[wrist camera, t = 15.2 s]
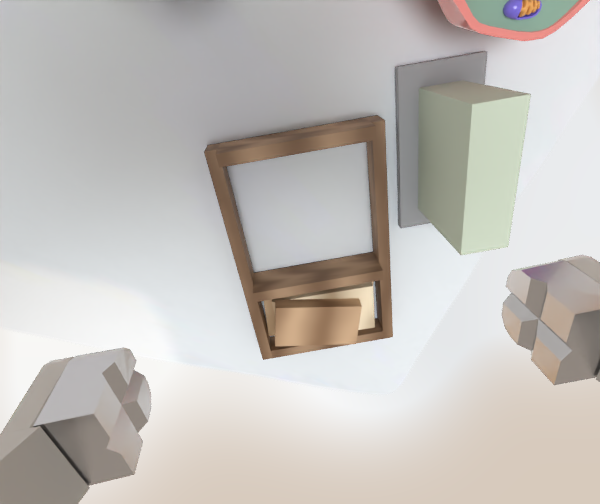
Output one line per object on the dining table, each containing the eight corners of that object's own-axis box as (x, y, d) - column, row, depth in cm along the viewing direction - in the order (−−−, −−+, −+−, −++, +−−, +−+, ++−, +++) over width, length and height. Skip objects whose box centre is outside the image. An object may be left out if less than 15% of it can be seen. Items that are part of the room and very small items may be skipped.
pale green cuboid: (418, 208, 40) (460, 255, 31) (418, 88, 34) (472, 104, 25) (454, 202, 40) (508, 247, 31) (462, 80, 34) (530, 94, 25)
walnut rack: (263, 345, 49) (262, 368, 45) (207, 145, 36) (201, 156, 32) (387, 323, 49) (396, 345, 45) (377, 115, 35) (389, 123, 32)
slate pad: (398, 225, 42) (400, 228, 41) (395, 66, 34) (397, 67, 33) (469, 212, 41) (472, 215, 41) (482, 51, 34) (487, 51, 33)
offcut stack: (268, 327, 48) (269, 353, 44) (262, 282, 44) (262, 305, 40) (368, 317, 48) (377, 341, 44) (370, 271, 45) (380, 293, 41)
